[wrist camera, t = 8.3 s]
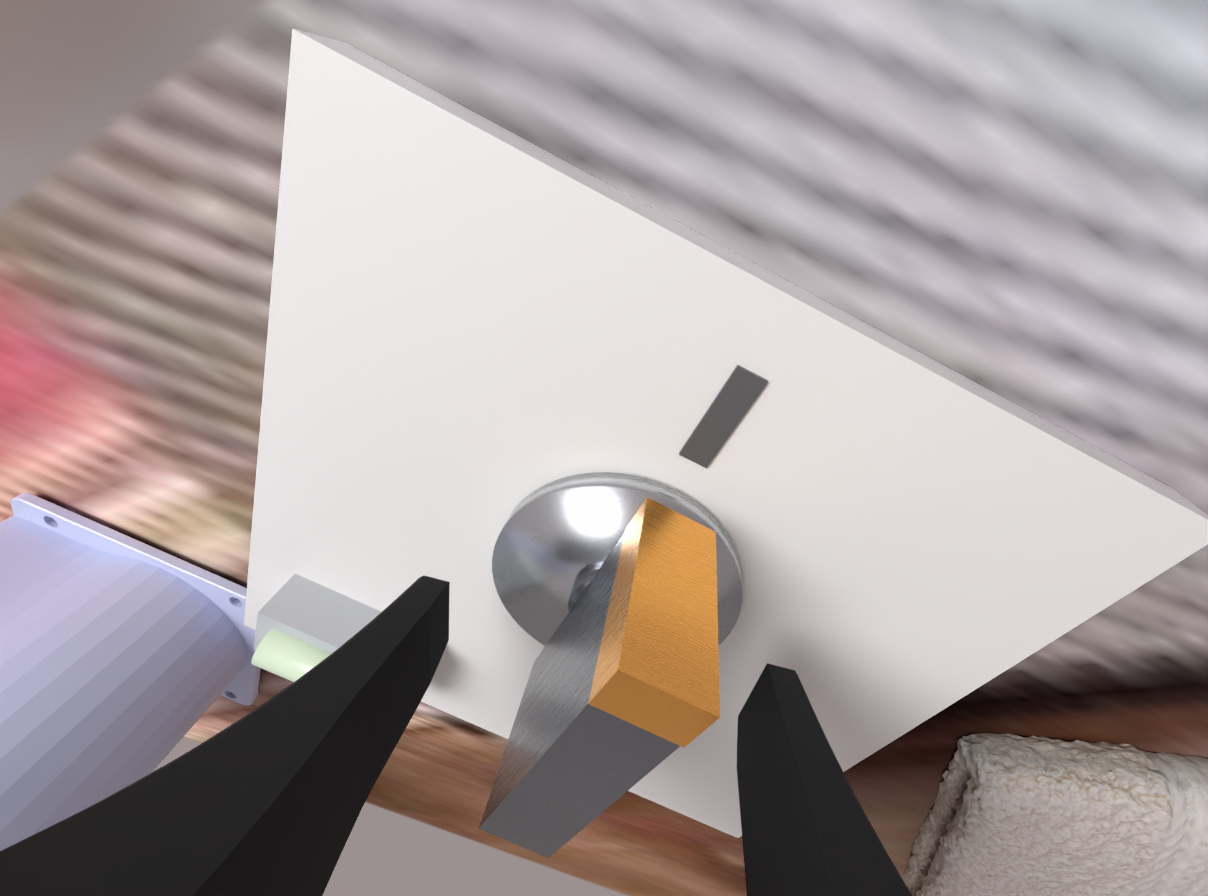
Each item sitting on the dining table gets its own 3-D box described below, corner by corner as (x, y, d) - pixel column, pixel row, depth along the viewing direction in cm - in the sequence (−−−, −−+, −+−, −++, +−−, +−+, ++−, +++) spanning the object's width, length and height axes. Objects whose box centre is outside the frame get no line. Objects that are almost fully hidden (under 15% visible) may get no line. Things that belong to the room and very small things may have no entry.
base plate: (274, 593, 19) (185, 686, 16) (345, 42, 10) (167, -5, 7) (735, 796, 21) (741, 917, 18) (1172, 488, 12) (1355, 625, 8)
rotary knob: (662, 683, 16) (644, 905, 11) (469, 593, 15) (367, 789, 10) (803, 542, 12) (860, 783, 8) (558, 416, 11) (461, 597, 7)
